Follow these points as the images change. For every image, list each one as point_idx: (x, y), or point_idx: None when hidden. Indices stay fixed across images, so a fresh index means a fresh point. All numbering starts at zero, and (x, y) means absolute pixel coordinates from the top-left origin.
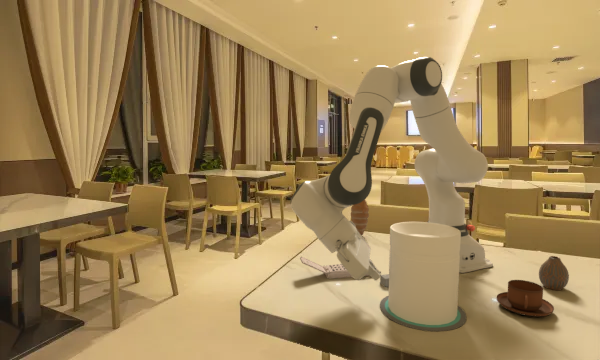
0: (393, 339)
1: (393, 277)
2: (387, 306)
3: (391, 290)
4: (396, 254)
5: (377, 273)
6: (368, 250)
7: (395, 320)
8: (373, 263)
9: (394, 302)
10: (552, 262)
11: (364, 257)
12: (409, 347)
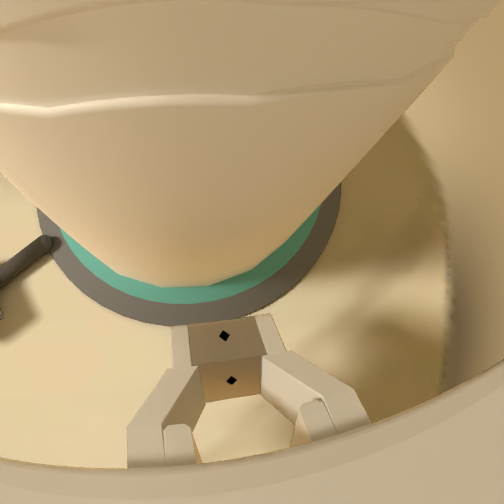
0: (419, 245)
1: (314, 200)
2: (206, 289)
3: (272, 244)
4: (436, 56)
5: (277, 335)
6: (18, 495)
7: (319, 246)
8: (149, 400)
9: (281, 241)
10: None
11: (473, 459)
12: (430, 203)
